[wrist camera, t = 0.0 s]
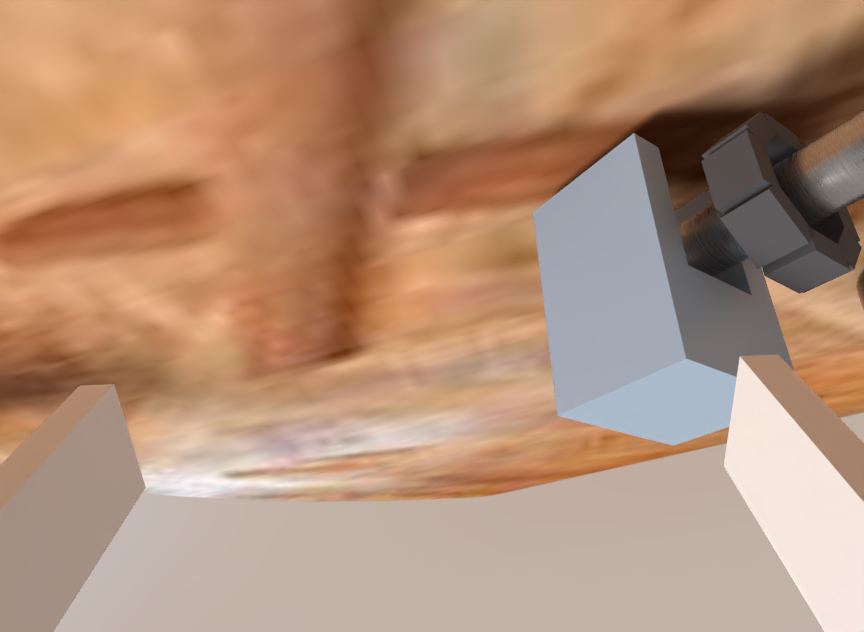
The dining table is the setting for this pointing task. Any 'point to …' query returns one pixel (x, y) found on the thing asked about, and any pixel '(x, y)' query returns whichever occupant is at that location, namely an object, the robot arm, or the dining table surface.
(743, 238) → the ring
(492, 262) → the dining table surface
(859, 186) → the pipe rig
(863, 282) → the supplement bottle
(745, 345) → the sleeve
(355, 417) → the dining table surface
